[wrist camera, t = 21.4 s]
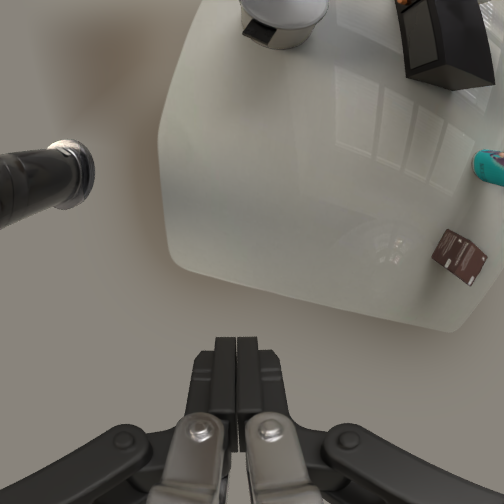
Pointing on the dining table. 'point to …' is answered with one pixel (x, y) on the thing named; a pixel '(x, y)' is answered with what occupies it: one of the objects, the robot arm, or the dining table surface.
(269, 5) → the pot
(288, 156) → the dining table surface
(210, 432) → the robot arm
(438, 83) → the toaster oven
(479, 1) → the sprinkles bottle
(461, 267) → the box
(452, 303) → the dining table surface
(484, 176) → the beverage can
